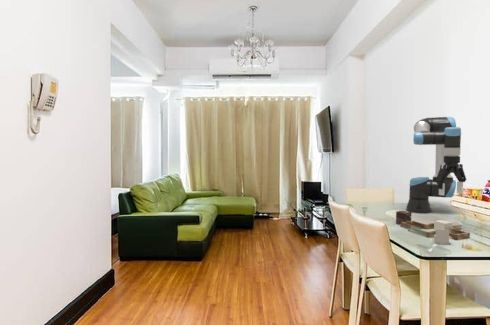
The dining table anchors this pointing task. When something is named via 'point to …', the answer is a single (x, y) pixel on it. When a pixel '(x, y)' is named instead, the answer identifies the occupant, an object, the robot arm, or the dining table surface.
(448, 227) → the block
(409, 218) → the box
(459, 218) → the dining table surface
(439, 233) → the grey square block
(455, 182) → the robot arm
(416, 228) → the trap channel
